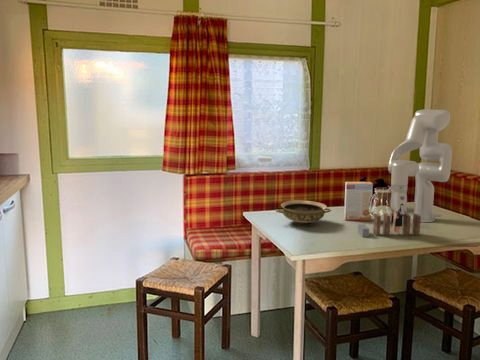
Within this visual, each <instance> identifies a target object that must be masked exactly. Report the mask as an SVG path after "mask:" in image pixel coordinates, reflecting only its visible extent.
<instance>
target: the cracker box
mask: <svg viewBox="0 0 480 360" xmlns="http://www.w3.org/2000/svg"><path fill="white" fill-rule="evenodd" d="M373 185H374V183H373V182H372V181H366V182H359V181H345V182H344V209H343V210H344V213H343V214H344V215H343V216H344V217H343V218H344V220H345V221H354V222H355V221H357V222H358V221H361V222H371V221H372V214H371V215H370V212H369V207H370V206H369V203H370V202H369V201H370V200H369V199H370V198H371V197H372V191H373Z"/></svg>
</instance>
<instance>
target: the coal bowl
mask: <svg viewBox="0 0 480 360" xmlns="http://www.w3.org/2000/svg"><path fill="white" fill-rule="evenodd" d="M367 178H368V177H367V176H364V177H362V178H361V179H359V181H358V182H367ZM374 182H376V183H375V184H373V191H372V195H373V194H374V188H376V187H389V186H388V184H387V182H385V179H384V178H381V177H380V178H377V179H374Z"/></svg>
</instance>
